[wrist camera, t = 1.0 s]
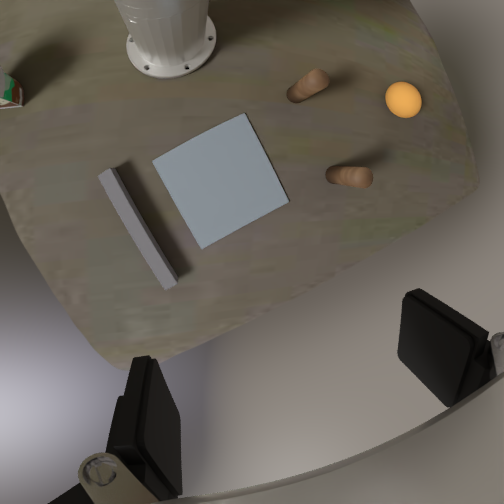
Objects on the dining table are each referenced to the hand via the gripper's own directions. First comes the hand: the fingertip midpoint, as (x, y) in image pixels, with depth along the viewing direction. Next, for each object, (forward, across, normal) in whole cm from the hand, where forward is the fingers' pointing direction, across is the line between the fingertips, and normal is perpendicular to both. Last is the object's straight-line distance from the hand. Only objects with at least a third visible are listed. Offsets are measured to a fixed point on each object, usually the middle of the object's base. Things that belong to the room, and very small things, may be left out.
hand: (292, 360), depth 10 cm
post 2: (+33, -17, -3) cm, 38 cm away
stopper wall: (+33, +11, 0) cm, 35 cm away
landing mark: (+33, -1, -5) cm, 34 cm away
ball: (+30, -31, -14) cm, 45 cm away
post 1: (+33, -13, -16) cm, 39 cm away
